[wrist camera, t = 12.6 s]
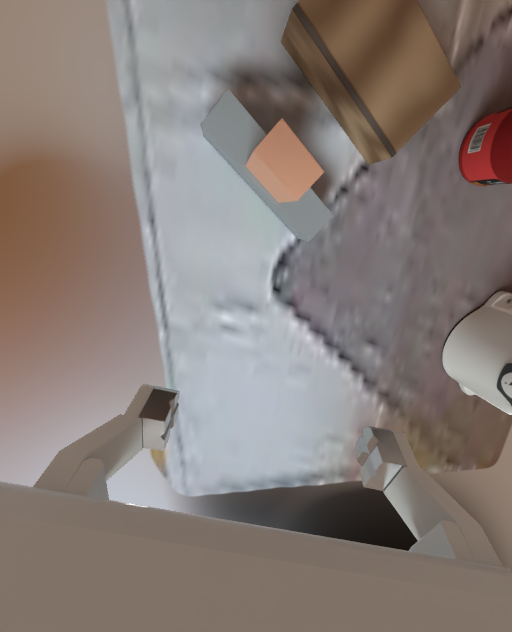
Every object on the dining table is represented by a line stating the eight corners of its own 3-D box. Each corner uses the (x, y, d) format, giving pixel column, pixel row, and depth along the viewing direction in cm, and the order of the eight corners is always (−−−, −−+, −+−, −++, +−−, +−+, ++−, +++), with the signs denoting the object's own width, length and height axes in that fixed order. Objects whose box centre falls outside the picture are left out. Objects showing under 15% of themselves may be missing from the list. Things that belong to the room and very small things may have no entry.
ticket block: (427, 103, 33) (462, 85, 28) (368, 164, 34) (392, 157, 29) (345, -39, 27) (372, -91, 22) (280, 41, 29) (292, 8, 24)
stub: (319, 215, 36) (369, 218, 24) (297, 238, 36) (334, 252, 24) (227, 106, 30) (231, 40, 18) (203, 136, 31) (192, 91, 19)
